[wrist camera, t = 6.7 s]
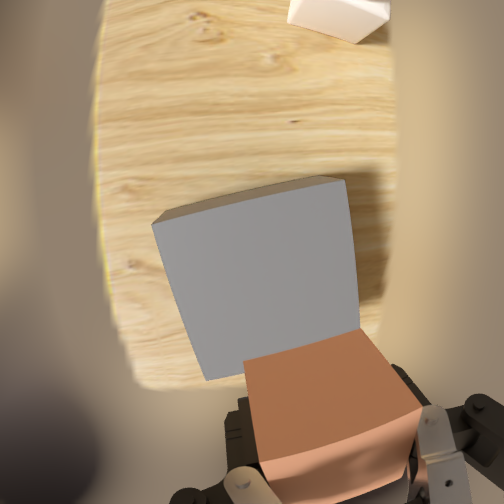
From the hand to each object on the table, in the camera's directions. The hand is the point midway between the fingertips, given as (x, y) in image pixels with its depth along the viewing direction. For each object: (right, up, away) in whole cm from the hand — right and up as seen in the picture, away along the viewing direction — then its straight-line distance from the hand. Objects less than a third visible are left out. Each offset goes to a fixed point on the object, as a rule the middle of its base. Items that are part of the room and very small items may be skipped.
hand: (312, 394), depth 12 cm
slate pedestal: (-2, +5, +16) cm, 17 cm away
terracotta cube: (0, 0, +1) cm, 0 cm away
